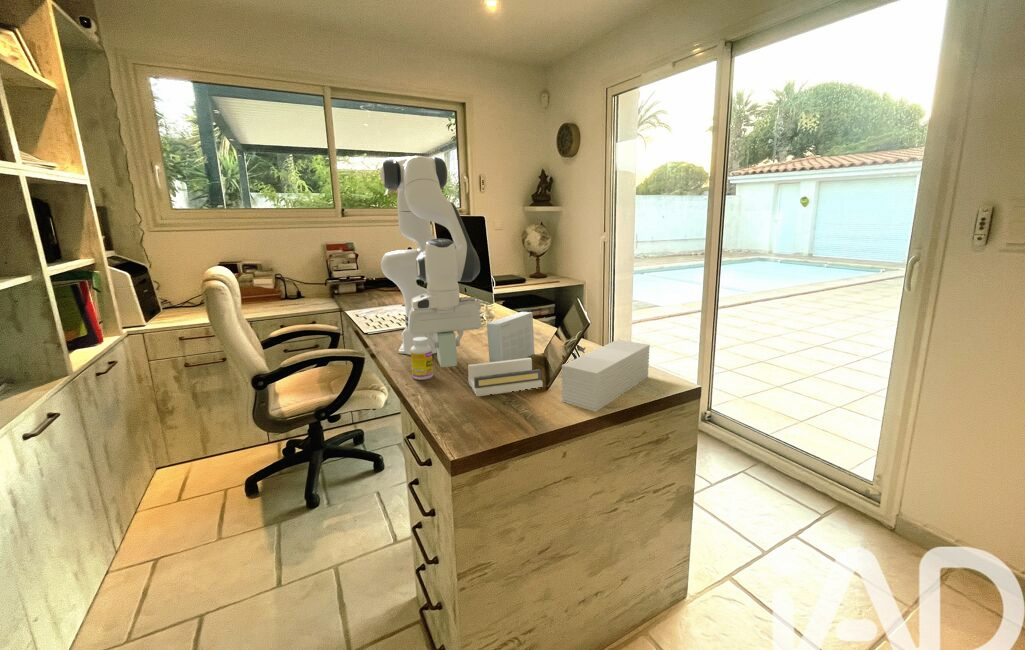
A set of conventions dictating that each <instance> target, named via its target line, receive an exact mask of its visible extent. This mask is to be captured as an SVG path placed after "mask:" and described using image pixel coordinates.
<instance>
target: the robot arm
mask: <svg viewBox="0 0 1025 650" xmlns="http://www.w3.org/2000/svg"><path fill="white" fill-rule="evenodd" d="M379 176H380V180H381V182H382V184H383V186H384V187H385V188H386V189H387V190H390V191H394V192H397V203H396V204H397V217H398V218H397V219H398V229H399V230H398V231H399V233H400V234H401V236H403V237H404V238H406V239H407V240H410V241H412V242H414V243H416V245H417V248H415V249H413V248H412V249H397V250H393V251H389V252H385V253H384V255H383V256H382V258H381V259H380V260H381V261H380V269H381V272H382V273H383V276H385V277H386V278H387V279H388V280H390V281H392V282H393V283H394V284H395V285H396V286H397V287H398V290H400V292H401V294H402V296H403V297H402V298H403V302H404V308H405V309H404V310H405V316H404V322H405V328H404V329H403V331H402V333H400V334H401V335H400V336H401V339H402V341H401V343H402V344H401V345H400V347H399V349H398V354H403V355H404V354H405V355H408V356H409V355H410V356H411V351H410V350H411V348H412V347H413V346H414V344H413V339H414V338H416V337H427V338H428V343H427V344H428V345H429V346H430V347H431V349H432V355H433V354H437V348H439V347H438V341H436V333H441V332H452V331H453V332H457V334H458V335H457V336H456V347H460V346H461V339H462V337H463V335H464V331H470V330H471V331H473V330H479V329H480V328H481V326H482V321H481V320H482V319H481V313H480V311H481V308H482V307H481V305H482V302H481V300H480V299H479V298H477V297H475V296H469V297H468V296H467V297H465V296H464V297H460V285H459V283H461V282H463V283H471V282H472V281H474V280H475V279H476V278H477V277H478V276H479V274H480V273H481V272H480V271H481V262H480V257H479V256H478V253H477V251H476V249H475V248H474V245H473V244H472V242H471V239H470V237H469V234H468V231H467V230H466V227H465V225H464V222H463V219H462V217H461V215H460V213H459V211H458V208H457V207H456V205H455V203H453V202H451V201H449V200H448V198H447V197H446V196H445V195H444V194H443V192H442V189H443V188H444V187H445V186H446V185H447V183H448V177H449V171H448V167H447V164H446V162H445V161H444V160H443V159H442V158H439V157H436V156H432V157H430V156H422V155H413V156H399V157H395V156H390V157H386V158H384V159H383V160H381V164H380V169H379ZM431 222H432V223H435V224H437V225H440V226H442V227H445V228H446V229H447V230H448V232H449V233H450V235H451V238H452V240H451V239H448V238H435V237H434V235H433V232H432V227H431ZM417 280H421V281H423V282H424V283H426V284H427V285H426V288H425V287H423V286H420V285H418V283H417ZM458 282H459V283H458Z"/></svg>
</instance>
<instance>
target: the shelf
mask: <svg viewBox="0 0 1025 650" xmlns="http://www.w3.org/2000/svg"><path fill="white" fill-rule="evenodd" d="M532 360H533V359H532V358H531V357H527V358H523V359H514V360H505V361H497V362H489V361H488V362H482V363H472V364H467V366H468V367H467V368H468V376H467V378H468V380H467V381H468V384H469V386H470V387H472V388H471V389H472V391H473V392H474V394H476V395H475V396H476V397H484V396H490V394H492V395H498V394H505V393H511V392H512V391H514V392H519V390H521V391H526V390H525V389H528V390H532V389H531V388H536V389H539V388H538V387H542V388H543V380H542V370H541V369H540V368H538V369H537V368H536V369H533V361H532ZM512 393H513V392H512Z"/></svg>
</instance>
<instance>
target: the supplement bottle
mask: <svg viewBox="0 0 1025 650" xmlns="http://www.w3.org/2000/svg"><path fill="white" fill-rule="evenodd" d="M427 343H428V338H427V337H416V338H414V339H413V344H414V346H413V347H412V348H411V350H410V351H411V355H410V361H411V375H412V378H413V379H414V380H418V381H421V380H423V381H424V380H429V379H431V378H432V377H434V366H433V354H432V349H431V347H430V346H429V345H428V344H427Z"/></svg>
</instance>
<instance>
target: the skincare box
mask: <svg viewBox="0 0 1025 650" xmlns="http://www.w3.org/2000/svg"><path fill="white" fill-rule="evenodd" d="M533 314H534V313H533V312H531V311H529V312H528V311H520V312H517V313H513V314H511V315H508V316H504V317H501V318H498V319H495V320H493V321H489V322H486V330H487V331H486V333H487V343H488V360H489V361H488V362H497V361H505V360H514V359H523V358H530V357H531V356H533V355H535V342H534V341H535V339H534V337H535V336H534V335H535V334H534V319H533V318H534V317H533Z"/></svg>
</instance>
